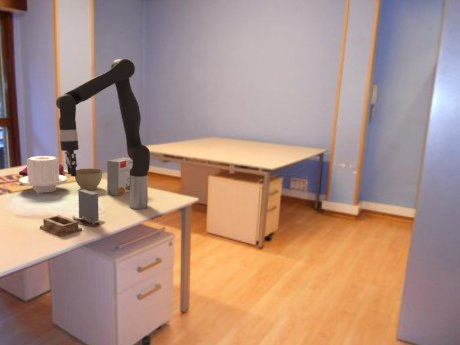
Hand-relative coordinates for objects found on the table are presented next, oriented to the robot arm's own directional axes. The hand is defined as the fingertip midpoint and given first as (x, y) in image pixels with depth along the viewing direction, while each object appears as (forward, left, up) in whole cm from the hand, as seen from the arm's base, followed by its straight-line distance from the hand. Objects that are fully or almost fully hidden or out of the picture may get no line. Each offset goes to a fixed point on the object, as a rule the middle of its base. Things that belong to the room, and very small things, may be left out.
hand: (72, 174), depth 178 cm
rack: (+2, +15, -21) cm, 26 cm away
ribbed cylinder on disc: (+24, -51, -21) cm, 60 cm away
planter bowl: (0, -55, -21) cm, 58 cm away
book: (+32, -82, -21) cm, 90 cm away
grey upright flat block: (-8, +5, -21) cm, 23 cm away
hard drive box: (-19, -46, -21) cm, 53 cm away
